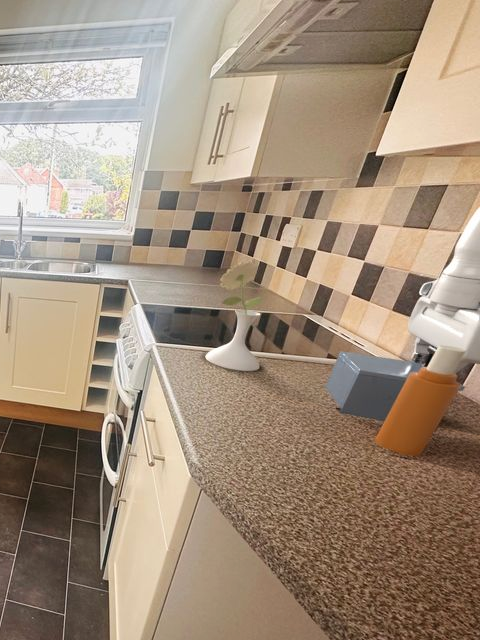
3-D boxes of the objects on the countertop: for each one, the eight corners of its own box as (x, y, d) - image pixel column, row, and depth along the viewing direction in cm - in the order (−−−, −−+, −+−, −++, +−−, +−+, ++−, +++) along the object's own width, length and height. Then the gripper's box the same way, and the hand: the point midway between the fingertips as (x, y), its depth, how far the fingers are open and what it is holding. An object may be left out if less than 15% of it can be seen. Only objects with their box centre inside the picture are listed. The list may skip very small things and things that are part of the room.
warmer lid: (429, 368, 80) (444, 341, 78) (463, 391, 71) (480, 361, 68) (338, 354, 86) (350, 329, 83) (358, 374, 76) (371, 346, 74)
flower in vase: (247, 362, 105) (282, 260, 94) (265, 380, 95) (306, 267, 84) (191, 356, 107) (219, 256, 97) (202, 372, 97) (235, 263, 87)
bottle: (409, 446, 71) (467, 346, 63) (425, 463, 66) (489, 357, 58) (368, 437, 73) (418, 339, 65) (380, 453, 68) (436, 350, 61)
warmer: (403, 407, 84) (425, 367, 80) (432, 434, 75) (458, 390, 71) (321, 393, 89) (338, 354, 86) (338, 416, 80) (358, 374, 76)
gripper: (540, 311, 60) (487, 396, 66) (462, 287, 77) (425, 356, 83) (481, 305, 63) (434, 387, 69) (418, 283, 80) (385, 350, 85)
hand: (429, 370), depth 76 cm, fingers open, 8 cm apart
